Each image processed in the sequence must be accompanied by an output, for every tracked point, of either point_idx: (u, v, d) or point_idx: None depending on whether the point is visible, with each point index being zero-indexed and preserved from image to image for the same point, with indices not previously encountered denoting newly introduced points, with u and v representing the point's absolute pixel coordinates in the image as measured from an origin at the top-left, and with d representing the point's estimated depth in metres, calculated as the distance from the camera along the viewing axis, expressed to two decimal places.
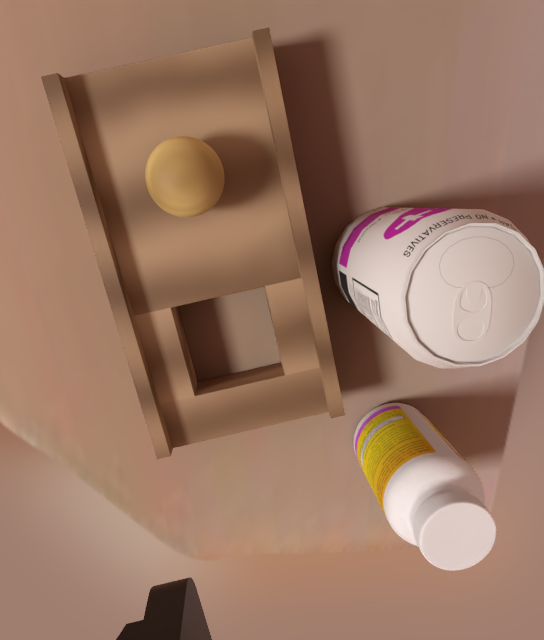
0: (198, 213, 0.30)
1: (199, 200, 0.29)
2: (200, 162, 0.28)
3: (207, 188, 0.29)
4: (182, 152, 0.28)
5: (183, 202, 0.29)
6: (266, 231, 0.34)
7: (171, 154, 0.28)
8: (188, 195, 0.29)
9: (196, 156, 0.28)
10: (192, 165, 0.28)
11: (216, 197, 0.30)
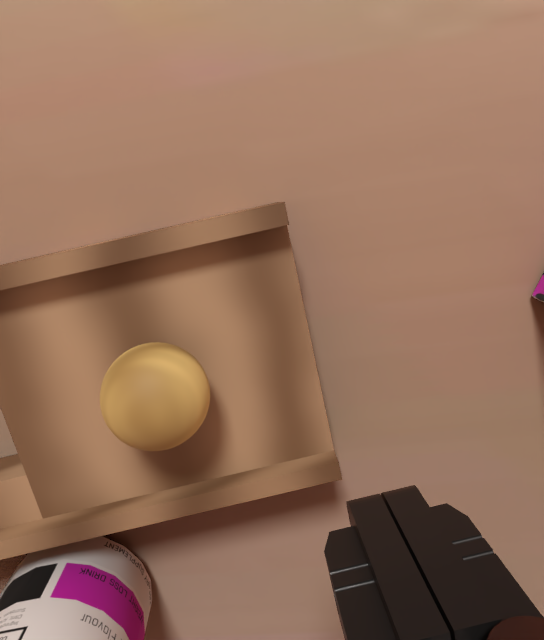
0: (104, 420, 0.21)
1: (117, 433, 0.21)
2: (168, 437, 0.20)
3: (134, 444, 0.21)
4: (180, 415, 0.20)
5: (112, 414, 0.20)
6: (102, 474, 0.25)
7: (177, 401, 0.20)
8: (121, 424, 0.20)
9: (176, 432, 0.21)
10: (162, 430, 0.20)
11: None
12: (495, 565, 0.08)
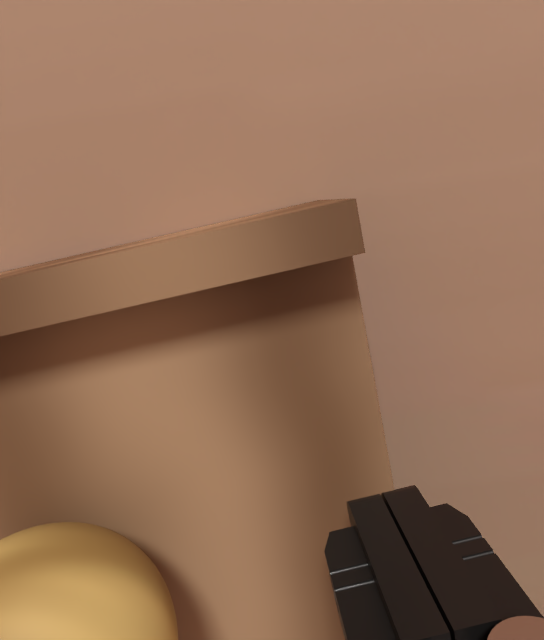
0: None
1: None
2: None
3: None
4: None
5: None
6: None
7: None
8: None
9: None
10: None
11: None
12: (495, 565, 0.08)
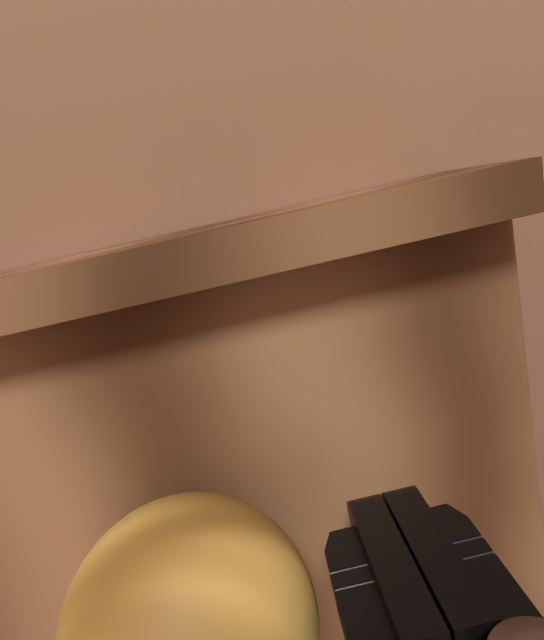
0: None
1: None
2: None
3: None
4: None
5: None
6: None
7: None
8: None
9: None
10: None
11: None
12: (495, 565, 0.08)
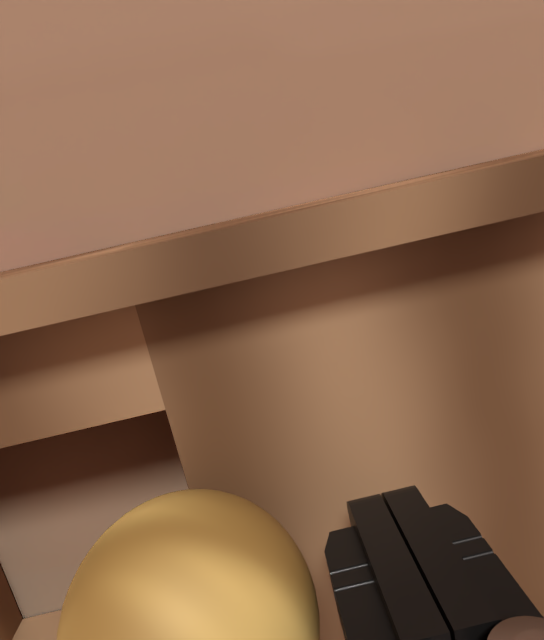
0: None
1: None
2: None
3: None
4: None
5: None
6: None
7: None
8: None
9: None
10: None
11: None
12: (495, 565, 0.08)
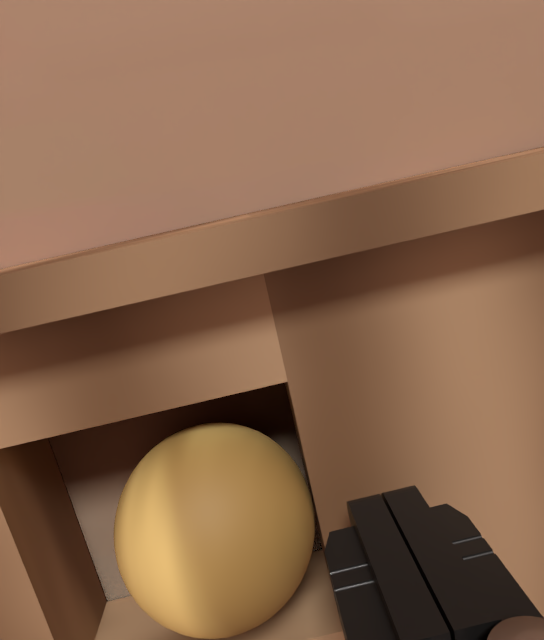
0: None
1: None
2: None
3: None
4: None
5: None
6: None
7: (116, 555, 0.11)
8: None
9: None
10: None
11: None
12: (495, 565, 0.08)
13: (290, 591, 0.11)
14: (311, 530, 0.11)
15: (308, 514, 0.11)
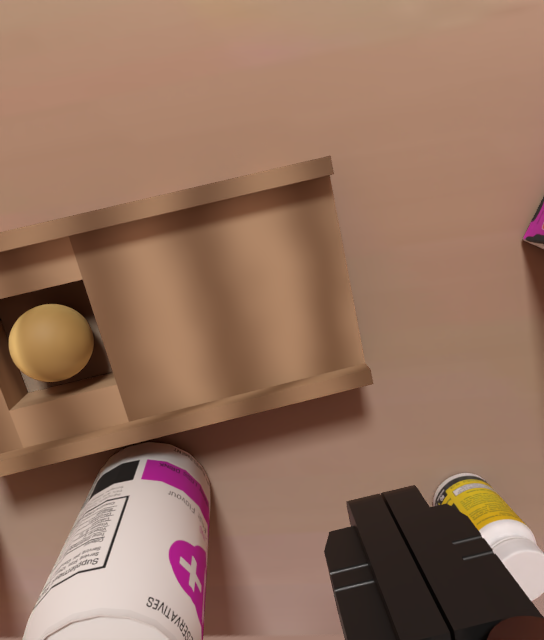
0: None
1: None
2: None
3: None
4: None
5: None
6: (178, 383, 0.31)
7: None
8: None
9: None
10: None
11: None
12: (495, 565, 0.08)
13: (62, 363, 0.29)
14: (75, 344, 0.29)
15: (73, 338, 0.29)
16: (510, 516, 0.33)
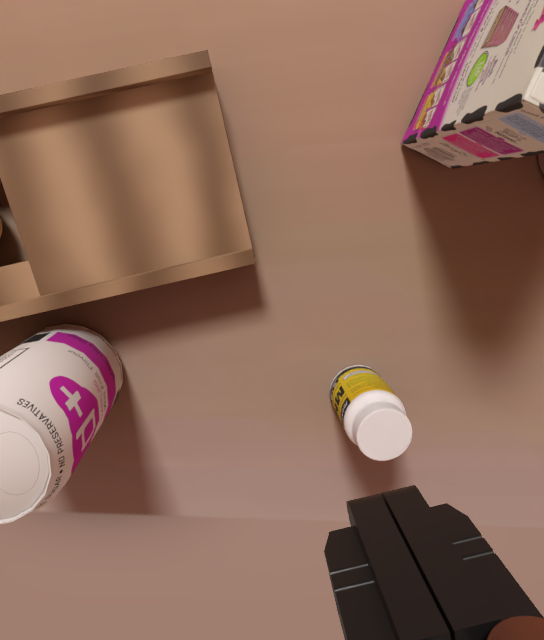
0: None
1: None
2: None
3: None
4: None
5: None
6: (83, 262, 0.35)
7: None
8: None
9: None
10: None
11: None
12: (495, 565, 0.08)
13: None
14: None
15: None
16: (382, 388, 0.36)
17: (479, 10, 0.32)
